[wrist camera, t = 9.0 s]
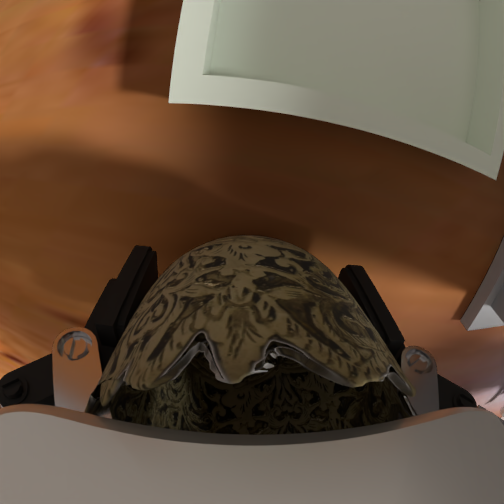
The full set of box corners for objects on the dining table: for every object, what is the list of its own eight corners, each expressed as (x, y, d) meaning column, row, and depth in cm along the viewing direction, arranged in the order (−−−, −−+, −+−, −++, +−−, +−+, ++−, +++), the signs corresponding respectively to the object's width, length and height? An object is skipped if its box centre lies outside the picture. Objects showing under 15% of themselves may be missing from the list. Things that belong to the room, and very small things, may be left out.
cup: (119, 236, 11) (22, 412, 4) (288, 142, 9) (422, 293, 2) (215, 348, 14) (210, 500, 7) (352, 293, 13) (418, 450, 6)
